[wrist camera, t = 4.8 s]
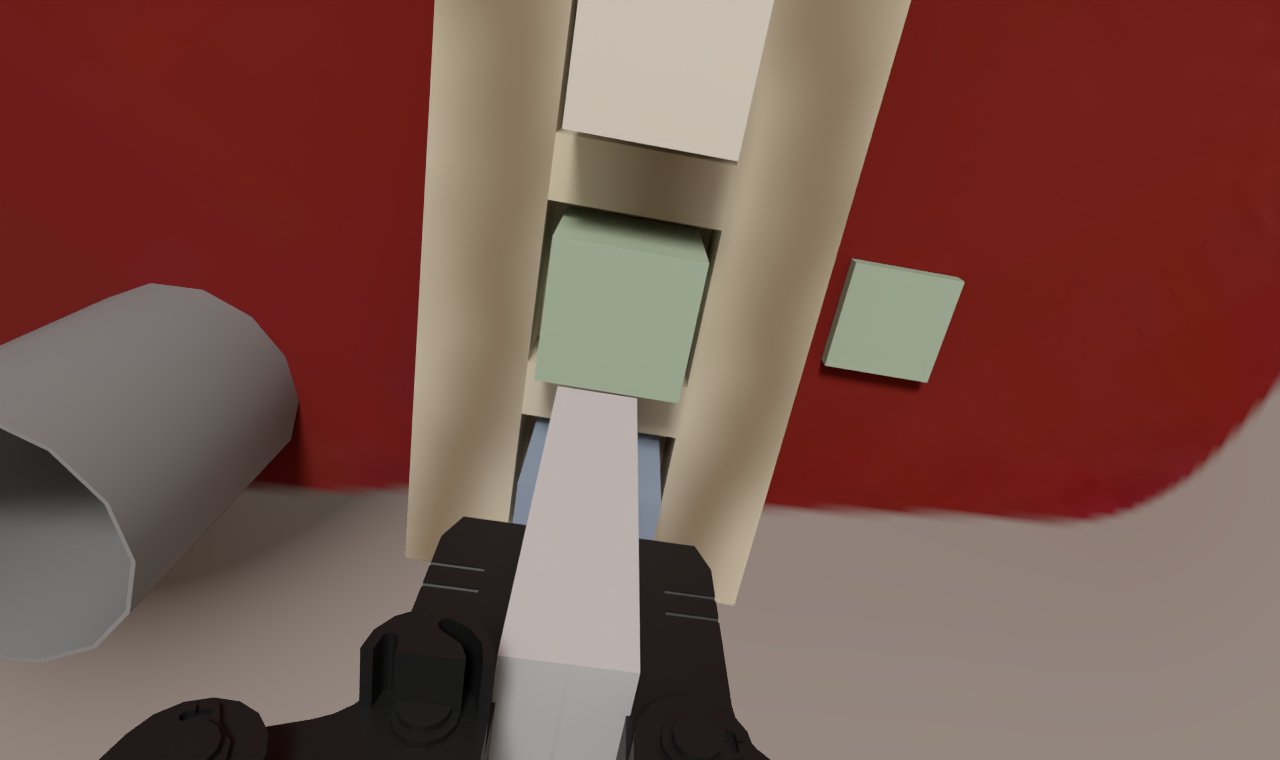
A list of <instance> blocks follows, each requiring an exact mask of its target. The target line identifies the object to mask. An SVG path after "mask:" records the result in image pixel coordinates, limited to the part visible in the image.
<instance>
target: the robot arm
mask: <svg viewBox="0 0 1280 760" xmlns="http://www.w3.org/2000/svg"><path fill="white" fill-rule="evenodd" d="M360 650H361V651H360V694H359V696H360V697H359V701H358V702H357V703H355V704H354V705H352V706H350V707H347V708H345V709H343V710H341V711H339V712H336V713H334V714H331V715H327V716H323V717H319V718H315V719H311V720H305V721H299V722H292V723H286V724H281V725H274V726H268V727H265V725H264V723H263V721H262V719H261V717H260V715H259V713H257V712H256V711H254V710H253V709H251V708H250V707H248V706H246V705H245V704H243V703H242V702H240V701H234V700H227V699H220V698H207V699H201V700H194V701H187V702H183V703H181V704H178V705H176V706H173V707H171V708H168V709H166V710H163V711H161V712H158V713H156V714H153V715H152V716H151V717H149V718H148V719H147V720H145V721H144V722H142V723H141V724H140V725H138V726H137V727H135V728H134V729H133V730H131V731H130V732H129V733H127V734H126V735H125V736H124V737H123V738H122V739H121V740H120V741H118V742H117V744H115V745H114V746H113V747H112V748H111V749H110V750H109V751H108V752H107V753H106V754H105V755H103V756H102V757H101V758H100V759H99V760H770V759H769V758H767V757H766V756H765V755H764V754H762V753H761V752H760V751H758V750H757V749H756V748H755V747H754V745H753V744H752V743H751V740H750V738H749V735H748V732H747V731H746V730H745V729H744V727H743V726H742V725H741V724H740V723H739V722H738V721H737V719H736V718H735V715H734V712H733V708H732V705H731V699H730V691H729V686H728V678H727V671H726V665H725V659H724V652H723V645H722V638H721V632H720V626H719V623H718V612H717V605H716V601H715V592H714V585H713V579H712V572H711V569H710V568H709V566H708V565H707V563H706V562H705V560H704V559H703V557H702V556H701V555H700V553H699V552H698V550H697V549H696V547H695V546H690V545H683V544H676V543H669V542H662V541H654V540H647V539H640V538H639V523H638V438H637V398H632V397H625V396H619V395H612V394H606V393H599V392H593V391H586V390H580V389H573V388H567V387H560V386H558V387H557V391H556V396H555V400H554V405H553V409H552V414H551V418H550V423H549V427H548V432H547V436H546V441H545V445H544V449H543V454H542V458H541V463H540V467H539V472H538V476H537V481H536V485H535V490H534V494H533V499H532V503H531V507H530V512H529V516H528V521H527V525H522V524H515V523H508V522H501V521H493V520H486V519H479V518H472V517H465V516H464V517H462V518H461V519H460V520H459V521H458V522H457V523H455V524H454V525H453V526H452V527H451V528H450V529H449V530H447V531H446V532H445V533H444V534H443V535H442V536H441V538H440V540H439V543H438V545H437V548H436V551H435V553H434V556H433V558H432V561H431V566H429V569H428V571H427V573H426V576H425V578H424V581H423V586H422V587H421V589H420V591H419V594H418V596H417V599H416V601H415V604H414V606H413V609H412V611H411V612H408V613H404V614H401V615H397V616H394V617H393V618H391V619H390V620H388V621H387V622H385V623H383V624H382V625H380V626H379V627H377V628H376V629H374V630H373V632H372V633H371V634H370V636H369V637H368V638H367V640H366V641H365V642H364V644H363V645H362V647H361V648H360Z"/></svg>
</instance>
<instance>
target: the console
mask: <svg viewBox="0 0 1280 760" xmlns="http://www.w3.org/2000/svg"><path fill="white" fill-rule="evenodd" d="M910 2H911V0H774V3H773V8H772V12H771V17H770V21H769V26H768V30H767V35H766V39H765V43H764V48H763V52H762V57H761V61H760V66H759V70H758V75H757V79H756V84H755V88H754V93H753V97H752V102H751V106H750V111H749V115H748V120H747V124H746V129H745V133H744V137H743V142H742V146H741V151H740V155H739V160H738V161H733V160H728V159H723V158H717V157H712V156H706V155H701V154H696V153H690V152H685V151H679V150H674V149H669V148H663V147H658V146H652V145H647V144H642V143H636V142H631V141H625V140H620V139H615V138H609V137H604V136H598V135H593V134H588V133H582V132H577V131H571V130H566V129H562V125H563V117H564V109H565V101H566V93H567V85H568V77H569V69H570V61H571V53H572V45H573V37H574V29H575V21H576V13H577V5H578V0H435V9H434V27H433V46H432V65H431V84H430V103H429V121H428V140H427V159H426V178H425V197H424V215H423V234H422V253H421V272H420V291H419V309H418V328H417V347H416V366H415V384H414V403H413V422H412V441H411V460H410V478H409V497H408V517H407V535H406V554H405V558H408V559H416V560H423V561H429V562H431V561H432V558H433V556H434V553H435V551H436V548H437V545H438V543H439V540H440V538H441V536H442V535H443V534H444V533H445V532H446V531H447V530H449V529H450V528H451V527H452V526H453V525H454V524H455V523H457V522H458V521H459V520H460V519H461V518H462V517H464V516H465V517H472V518H479V519H486V520H493V521H501V522H508V523H513V516H514V508H515V500H516V492H517V484H518V480H519V477H520V474H521V470H522V467H523V464H524V460H525V457H526V454H527V450H528V447H529V444H530V440H531V437H532V434H533V430H534V427H535V424H536V420H537V417H542V418H548V419H550V418H551V414H552V409H553V405H554V400H555V396H556V391H557V387H558V386H560V387H567V388H573V389H580V390H586V391H593V392H599V393H606V394H612V395H619V396H625V397H632V398H637V433H643V434H649V435H655V436H659V455H660V482H661V509H660V513H659V518H658V522H657V527H656V531H655V536H654V541H662V542H669V543H676V544H683V545H690V546H695V547H696V549H697V550H698V552H699V553H700V555H701V556H702V557H703V559H704V560H705V562H706V563H707V565H708V566H709V568H710V569H711V572H712V579H713V585H714V592H715V601H716V603H721V604H729V605H735V601H736V598H737V594H738V591H739V587H740V584H741V580H742V577H743V574H744V570H745V567H746V563H747V560H748V556H749V553H750V549H751V546H752V543H753V539H754V536H755V533H756V529H757V526H758V522H759V519H760V516H761V512H762V509H763V505H764V502H765V498H766V495H767V492H768V488H769V485H770V481H771V478H772V475H773V471H774V468H775V464H776V461H777V457H778V454H779V451H780V447H781V444H782V440H783V437H784V433H785V430H786V427H787V423H788V420H789V416H790V413H791V409H792V406H793V403H794V399H795V396H796V392H797V389H798V386H799V382H800V379H801V375H802V372H803V368H804V365H805V362H806V358H807V355H808V351H809V348H810V344H811V341H812V338H813V334H814V331H815V327H816V324H817V321H818V317H819V314H820V310H821V307H822V303H823V300H824V297H825V293H826V290H827V286H828V283H829V279H830V276H831V273H832V269H833V266H834V262H835V259H836V256H837V252H838V249H839V245H840V242H841V238H842V235H843V232H844V228H845V225H846V221H847V218H848V214H849V211H850V208H851V204H852V201H853V197H854V194H855V190H856V187H857V184H858V180H859V177H860V173H861V170H862V167H863V163H864V160H865V156H866V153H867V149H868V146H869V143H870V139H871V136H872V132H873V129H874V125H875V122H876V119H877V115H878V112H879V108H880V105H881V102H882V98H883V95H884V91H885V88H886V84H887V81H888V78H889V74H890V71H891V67H892V64H893V60H894V57H895V54H896V50H897V47H898V43H899V40H900V37H901V33H902V30H903V26H904V23H905V19H906V16H907V13H908V9H909V6H910ZM568 206H571V207H576V208H582V209H587V210H593V211H599V212H604V213H610V214H615V215H621V216H627V217H632V218H638V219H643V220H649V221H655V222H660V223H666V224H672V225H677V226H683V227H688V228H694V229H699V232H700V235H701V239H702V242H703V245H704V248H705V251H706V255H707V258H708V261H709V267H708V272H707V276H706V281H705V285H704V290H703V294H702V299H701V304H700V308H699V313H698V317H697V322H696V326H695V331H694V335H693V340H692V344H691V349H690V354H689V358H688V363H687V367H686V372H685V376H684V381H683V385H682V390H681V394H680V399H679V404H678V403H672V402H666V401H660V400H654V399H648V398H641V397H635V396H629V395H623V394H617V393H610V392H604V391H598V390H592V389H586V388H580V387H573V386H567V385H561V384H555V383H549V382H543V381H536V380H534V377H535V369H536V361H537V354H538V346H539V338H540V330H541V322H542V314H543V306H544V299H545V291H546V283H547V275H548V267H549V259H550V251H551V244H552V236H553V234H554V232H555V230H556V228H557V226H558V224H559V223H560V221H561V219H562V217H563V215H564V213H565V211H566V209H567V207H568Z"/></svg>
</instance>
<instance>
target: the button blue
mask: <svg viewBox="0 0 1280 760" xmlns="http://www.w3.org/2000/svg"><path fill="white" fill-rule="evenodd" d="M549 423H550V419H548V418H542V417H537V420H536V424H535V427H534V430H533V434H532V437H531V440H530V444H529V447H528V450H527V454H526V457H525V460H524V464H523V467H522V470H521V474H520V477H519V480H518V484H517V492H516V500H515V508H514V516H513V523H515V524H522V525H527V521H528V516H529V512H530V507H531V503H532V499H533V494H534V490H535V485H536V481H537V476H538V472H539V467H540V463H541V458H542V454H543V449H544V445H545V441H546V436H547V432H548V427H549ZM637 438H638V523H639V538H640V539H647V540H654V536H655V531H656V527H657V522H658V518H659V513H660V509H661V482H660V455H659V436H655V435H649V434H643V433H637Z"/></svg>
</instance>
